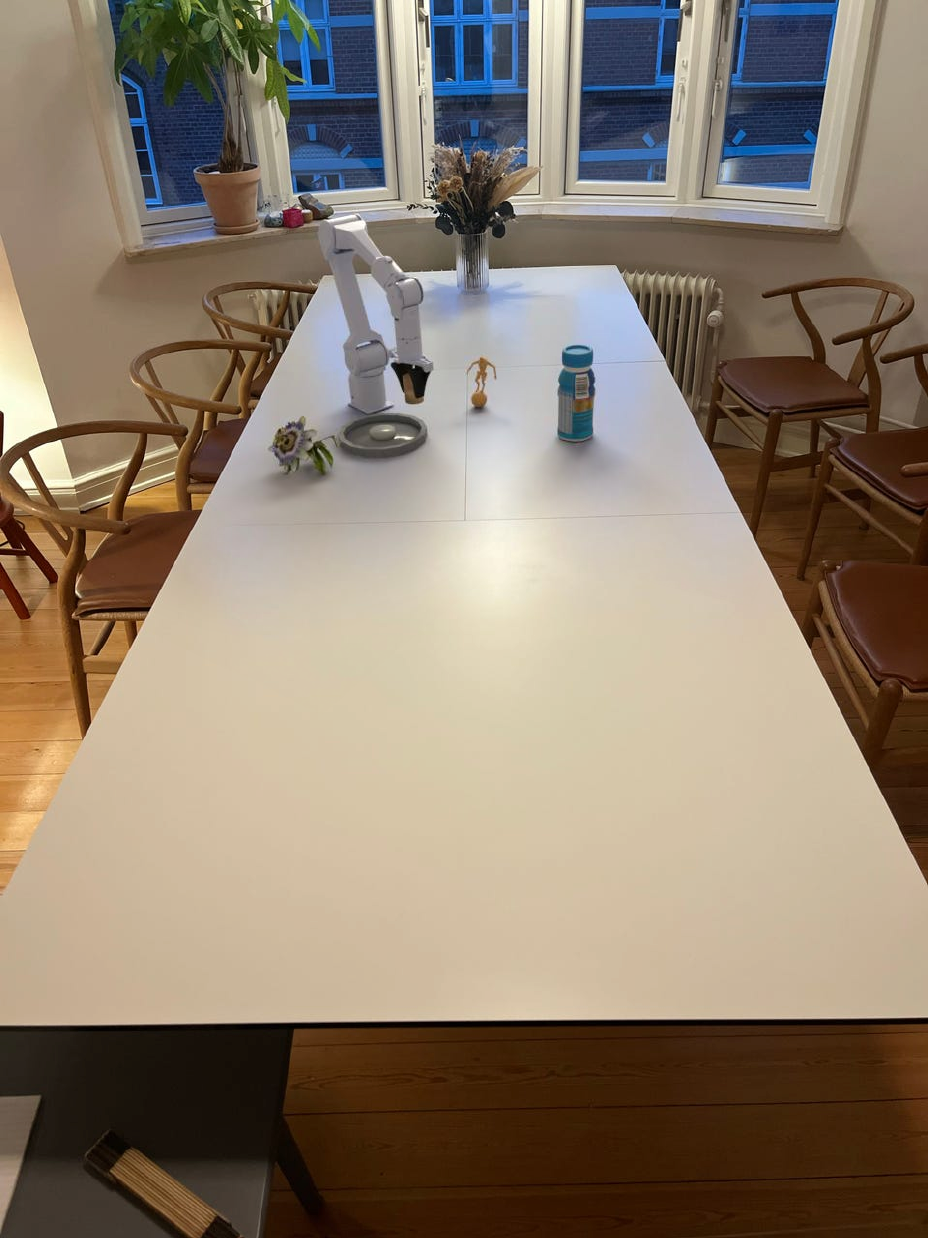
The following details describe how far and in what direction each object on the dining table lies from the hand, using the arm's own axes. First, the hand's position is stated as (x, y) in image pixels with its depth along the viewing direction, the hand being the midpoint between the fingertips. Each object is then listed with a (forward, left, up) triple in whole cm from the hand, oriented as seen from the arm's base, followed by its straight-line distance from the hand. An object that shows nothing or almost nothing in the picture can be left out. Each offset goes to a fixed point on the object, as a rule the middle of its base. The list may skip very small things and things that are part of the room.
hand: (413, 394), depth 203 cm
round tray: (-1, -9, -9) cm, 12 cm away
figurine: (0, +20, -9) cm, 22 cm away
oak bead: (0, 0, -2) cm, 2 cm away
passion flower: (-1, -30, -9) cm, 31 cm away
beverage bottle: (+29, +24, -9) cm, 39 cm away
